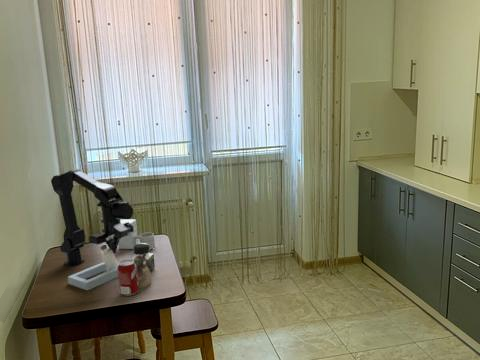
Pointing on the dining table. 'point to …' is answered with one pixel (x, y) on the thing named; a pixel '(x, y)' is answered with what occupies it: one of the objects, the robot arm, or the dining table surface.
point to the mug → (146, 239)
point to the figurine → (142, 271)
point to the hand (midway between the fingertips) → (114, 253)
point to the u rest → (81, 277)
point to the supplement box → (128, 236)
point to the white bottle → (109, 258)
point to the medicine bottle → (142, 249)
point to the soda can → (128, 277)
